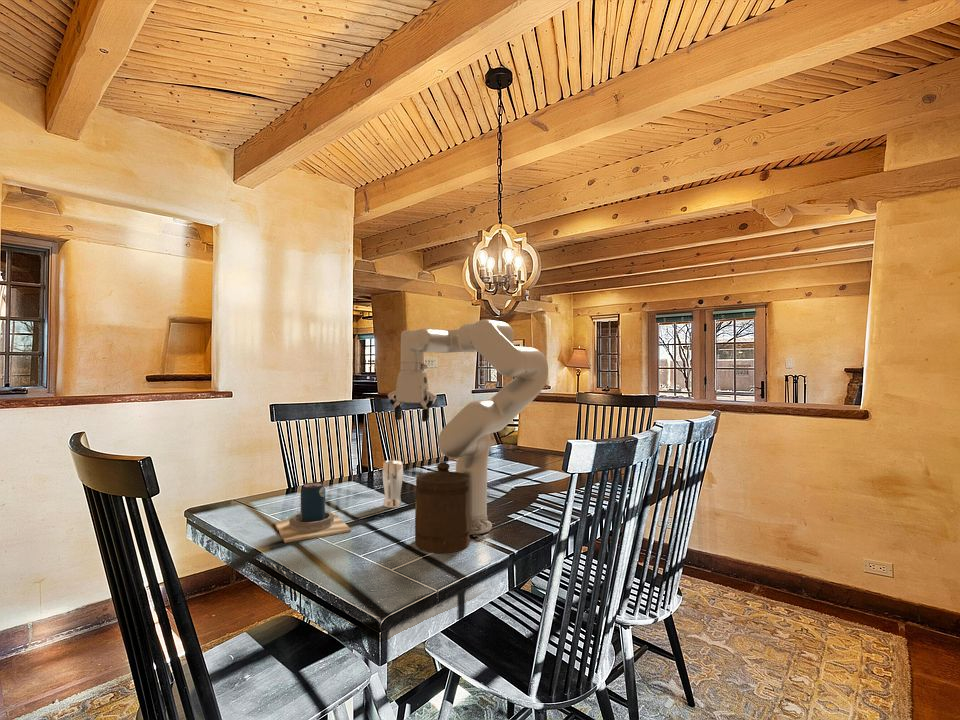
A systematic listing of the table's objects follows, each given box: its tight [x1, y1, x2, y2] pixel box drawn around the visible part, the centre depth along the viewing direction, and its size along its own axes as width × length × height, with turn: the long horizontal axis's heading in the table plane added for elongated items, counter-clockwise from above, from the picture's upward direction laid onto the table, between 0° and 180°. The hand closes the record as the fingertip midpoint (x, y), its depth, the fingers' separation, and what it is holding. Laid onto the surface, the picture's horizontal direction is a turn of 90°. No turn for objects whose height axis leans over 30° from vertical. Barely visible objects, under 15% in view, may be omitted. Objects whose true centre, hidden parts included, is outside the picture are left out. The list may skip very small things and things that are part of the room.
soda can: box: [299, 481, 326, 522], centre depth 146 cm, size 7×7×12 cm
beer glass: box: [382, 459, 404, 509], centre depth 169 cm, size 7×7×15 cm
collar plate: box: [273, 510, 352, 544], centre depth 146 cm, size 18×18×3 cm
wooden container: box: [414, 461, 471, 554], centre depth 135 cm, size 15×15×22 cm
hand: (411, 420), depth 161 cm, fingers open, 9 cm apart
